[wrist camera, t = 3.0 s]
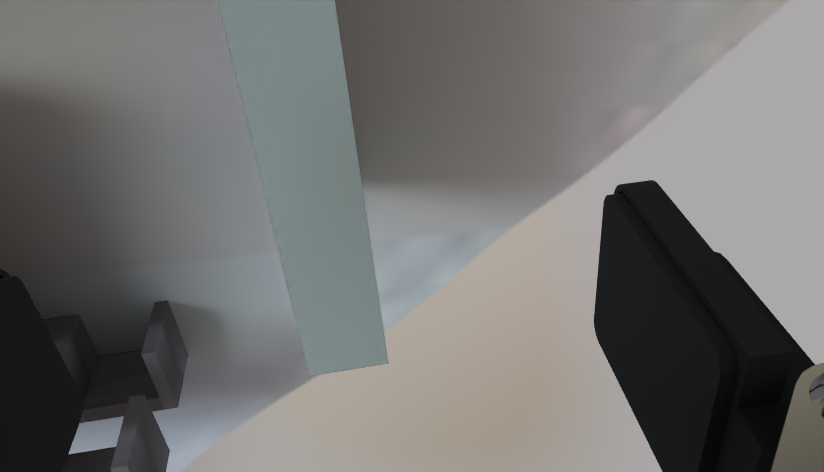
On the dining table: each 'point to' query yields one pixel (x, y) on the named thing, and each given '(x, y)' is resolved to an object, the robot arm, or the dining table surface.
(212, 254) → the dining table surface
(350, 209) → the grey flat block
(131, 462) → the cabinet
